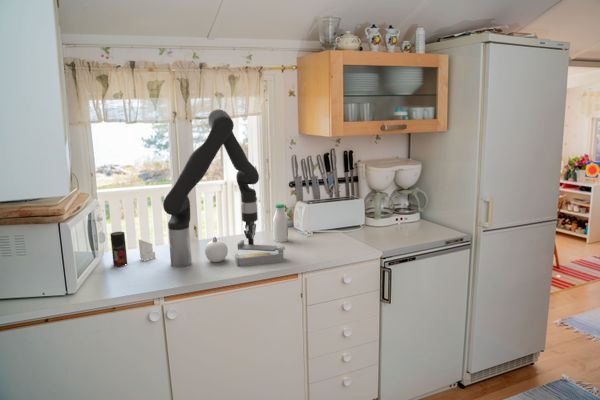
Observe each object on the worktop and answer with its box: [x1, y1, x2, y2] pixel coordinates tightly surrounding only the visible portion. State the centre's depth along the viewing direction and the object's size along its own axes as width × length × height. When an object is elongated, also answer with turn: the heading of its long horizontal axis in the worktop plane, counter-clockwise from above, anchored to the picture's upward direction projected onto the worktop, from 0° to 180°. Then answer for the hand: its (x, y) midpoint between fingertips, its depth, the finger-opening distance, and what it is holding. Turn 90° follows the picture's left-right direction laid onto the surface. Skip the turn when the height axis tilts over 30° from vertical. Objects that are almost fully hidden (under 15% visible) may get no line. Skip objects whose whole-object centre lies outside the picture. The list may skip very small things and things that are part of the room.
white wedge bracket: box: [138, 239, 156, 261], centre depth 216 cm, size 4×10×9 cm, turn 138°
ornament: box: [204, 236, 229, 263], centre depth 210 cm, size 10×10×12 cm
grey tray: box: [232, 250, 286, 267], centre depth 213 cm, size 22×16×4 cm
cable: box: [244, 253, 271, 257], centre depth 208 cm, size 12×4×3 cm, turn 106°
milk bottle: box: [272, 203, 289, 243], centre depth 240 cm, size 8×8×20 cm
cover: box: [237, 239, 286, 252], centre depth 213 cm, size 6×22×3 cm, turn 79°
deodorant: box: [110, 231, 128, 267], centre depth 208 cm, size 6×6×15 cm
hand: (251, 245), depth 219 cm, fingers closed
